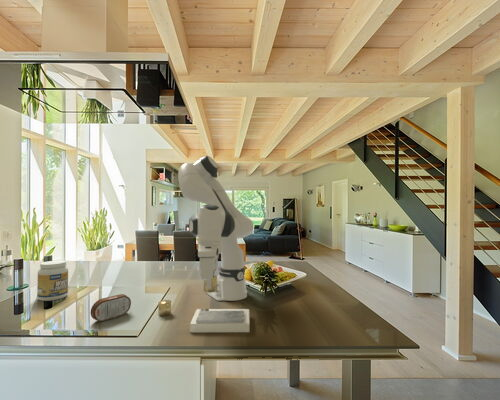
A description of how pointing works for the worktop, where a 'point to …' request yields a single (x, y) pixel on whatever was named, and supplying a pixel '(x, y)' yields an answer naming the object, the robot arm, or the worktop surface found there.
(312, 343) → the worktop surface
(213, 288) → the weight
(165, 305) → the weight
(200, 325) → the scale
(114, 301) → the tin
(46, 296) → the supplement tub
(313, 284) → the worktop surface
